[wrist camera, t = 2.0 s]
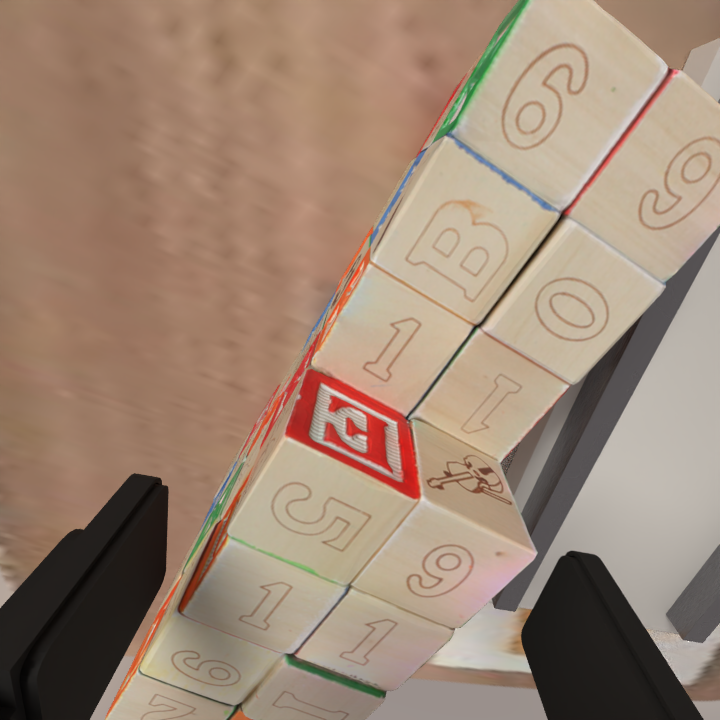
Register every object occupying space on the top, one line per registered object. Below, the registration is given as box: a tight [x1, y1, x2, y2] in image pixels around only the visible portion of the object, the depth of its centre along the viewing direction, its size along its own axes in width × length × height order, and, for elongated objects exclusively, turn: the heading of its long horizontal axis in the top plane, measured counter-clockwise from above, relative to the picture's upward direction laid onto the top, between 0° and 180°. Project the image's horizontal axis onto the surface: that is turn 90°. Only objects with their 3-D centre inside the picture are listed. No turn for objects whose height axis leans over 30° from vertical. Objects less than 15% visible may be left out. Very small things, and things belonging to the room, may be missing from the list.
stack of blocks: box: [105, 0, 720, 720], centre depth 14 cm, size 21×6×12 cm, turn 149°
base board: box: [489, 38, 720, 643], centre depth 19 cm, size 28×14×3 cm, turn 168°
